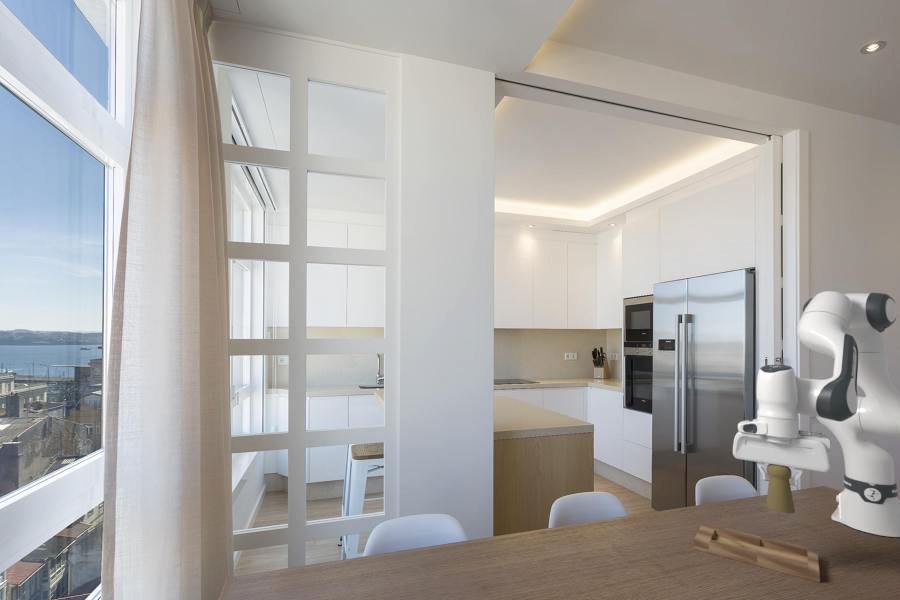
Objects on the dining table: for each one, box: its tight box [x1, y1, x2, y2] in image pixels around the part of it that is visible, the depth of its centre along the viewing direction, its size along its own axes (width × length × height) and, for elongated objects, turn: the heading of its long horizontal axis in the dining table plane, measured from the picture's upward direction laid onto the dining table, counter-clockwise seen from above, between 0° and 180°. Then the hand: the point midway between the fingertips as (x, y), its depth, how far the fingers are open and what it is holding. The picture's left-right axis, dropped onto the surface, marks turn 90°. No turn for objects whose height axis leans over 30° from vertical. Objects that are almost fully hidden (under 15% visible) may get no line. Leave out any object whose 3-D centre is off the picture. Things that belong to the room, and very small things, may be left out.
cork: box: [765, 464, 796, 514], centre depth 115 cm, size 6×6×11 cm
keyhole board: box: [693, 522, 821, 583], centre depth 118 cm, size 14×26×2 cm, turn 53°
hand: (779, 482), depth 116 cm, fingers closed on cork, 4 cm apart
